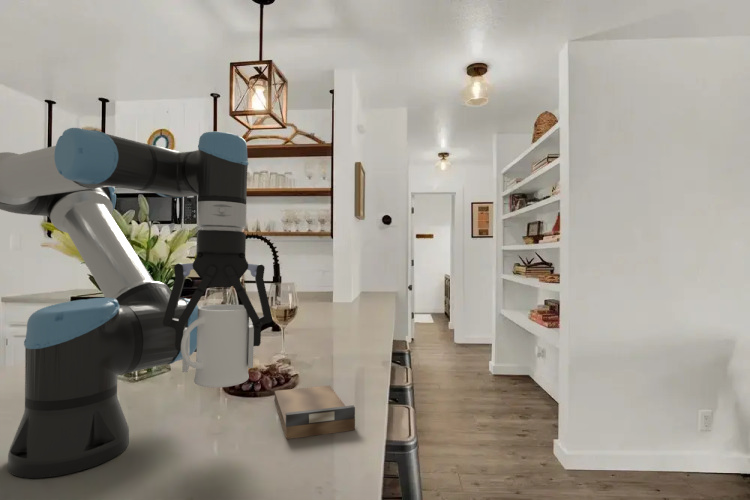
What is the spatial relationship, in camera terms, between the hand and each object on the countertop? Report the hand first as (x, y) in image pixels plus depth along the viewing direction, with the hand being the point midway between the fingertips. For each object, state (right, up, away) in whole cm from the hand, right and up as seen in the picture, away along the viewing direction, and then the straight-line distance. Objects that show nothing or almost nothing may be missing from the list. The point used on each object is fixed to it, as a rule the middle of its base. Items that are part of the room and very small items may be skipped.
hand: (218, 367), depth 69 cm
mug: (-1, -2, 0) cm, 3 cm away
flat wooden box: (+13, -13, +13) cm, 23 cm away
